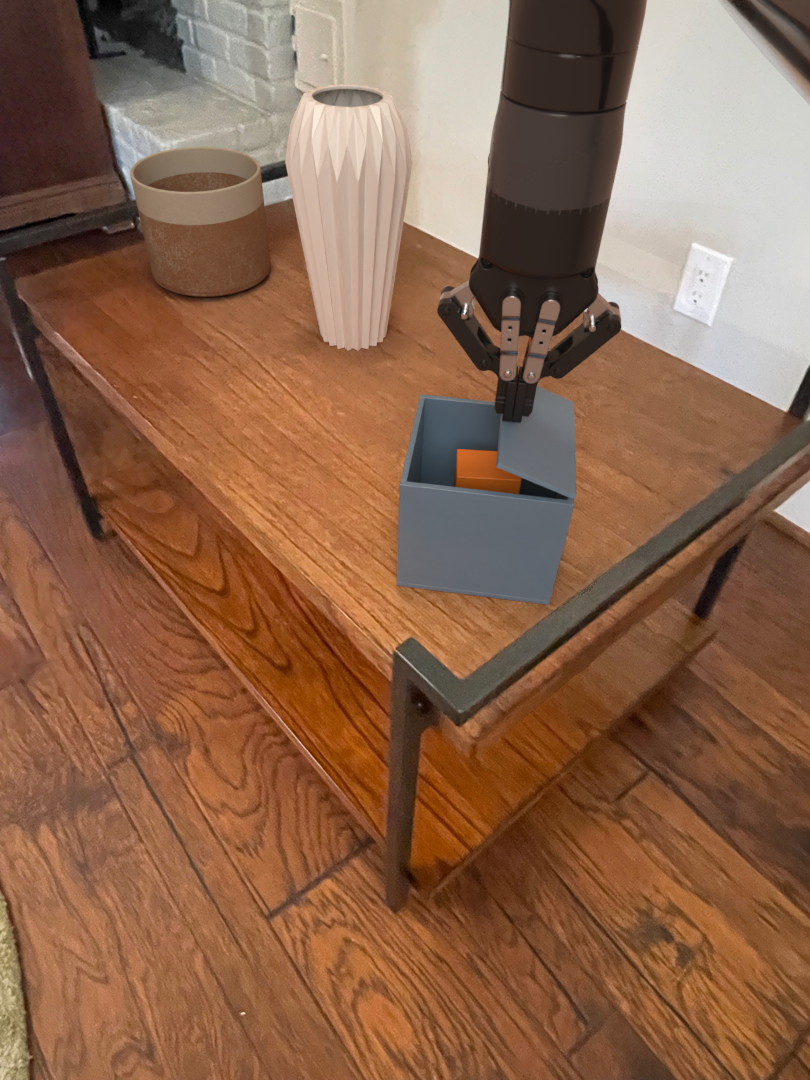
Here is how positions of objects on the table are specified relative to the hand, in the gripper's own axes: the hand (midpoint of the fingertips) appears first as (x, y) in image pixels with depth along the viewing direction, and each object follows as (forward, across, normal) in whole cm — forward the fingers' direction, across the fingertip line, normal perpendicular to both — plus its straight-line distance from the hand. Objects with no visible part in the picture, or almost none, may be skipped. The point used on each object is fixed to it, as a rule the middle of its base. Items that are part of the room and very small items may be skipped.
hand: (512, 415), depth 57 cm
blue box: (+15, -1, 0) cm, 15 cm away
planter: (+15, -41, +46) cm, 64 cm away
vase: (+15, -19, +34) cm, 42 cm away
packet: (+14, -1, 0) cm, 14 cm away
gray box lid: (+1, +2, 0) cm, 3 cm away
